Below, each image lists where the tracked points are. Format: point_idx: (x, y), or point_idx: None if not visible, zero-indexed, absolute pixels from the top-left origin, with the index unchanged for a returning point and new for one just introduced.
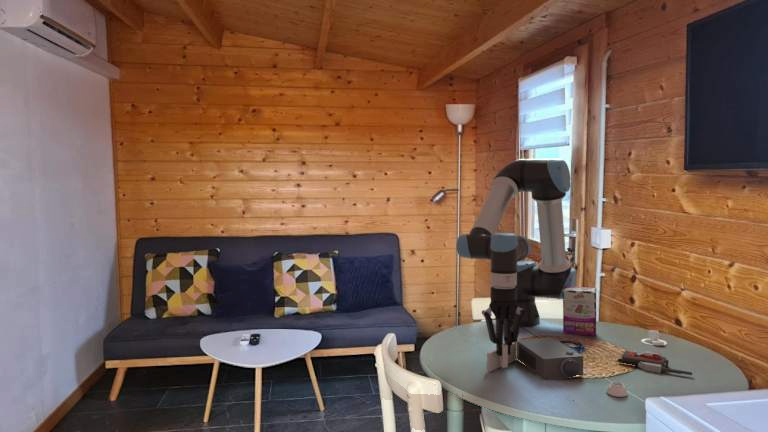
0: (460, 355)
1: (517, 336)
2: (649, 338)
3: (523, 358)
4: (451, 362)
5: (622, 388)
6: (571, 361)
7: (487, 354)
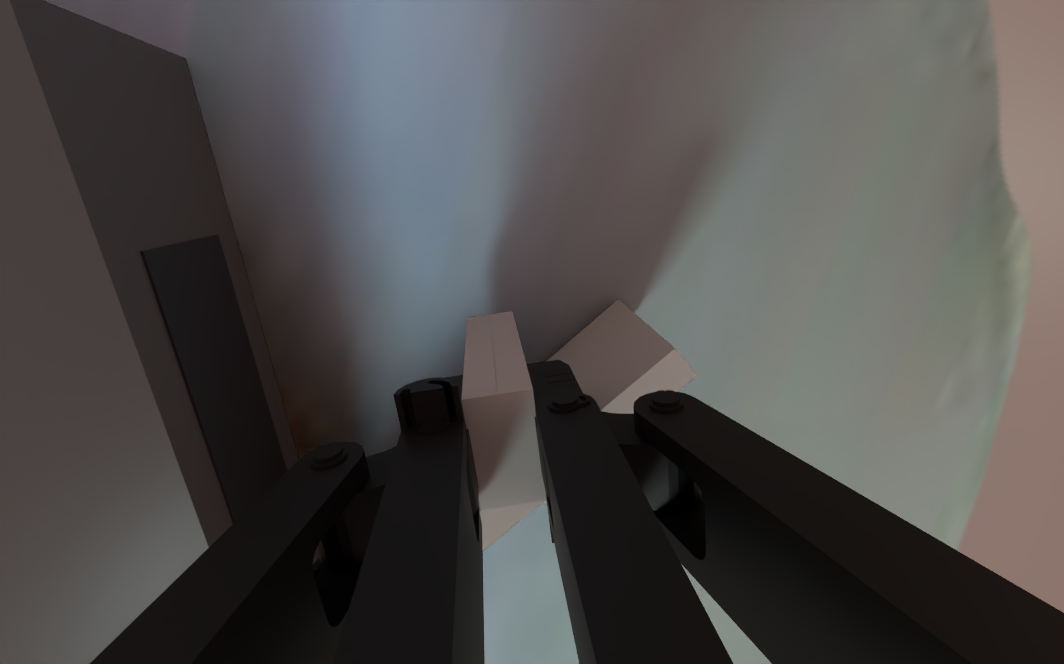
0: None
1: (263, 501)
2: None
3: (277, 476)
4: None
5: None
6: None
7: (687, 363)
